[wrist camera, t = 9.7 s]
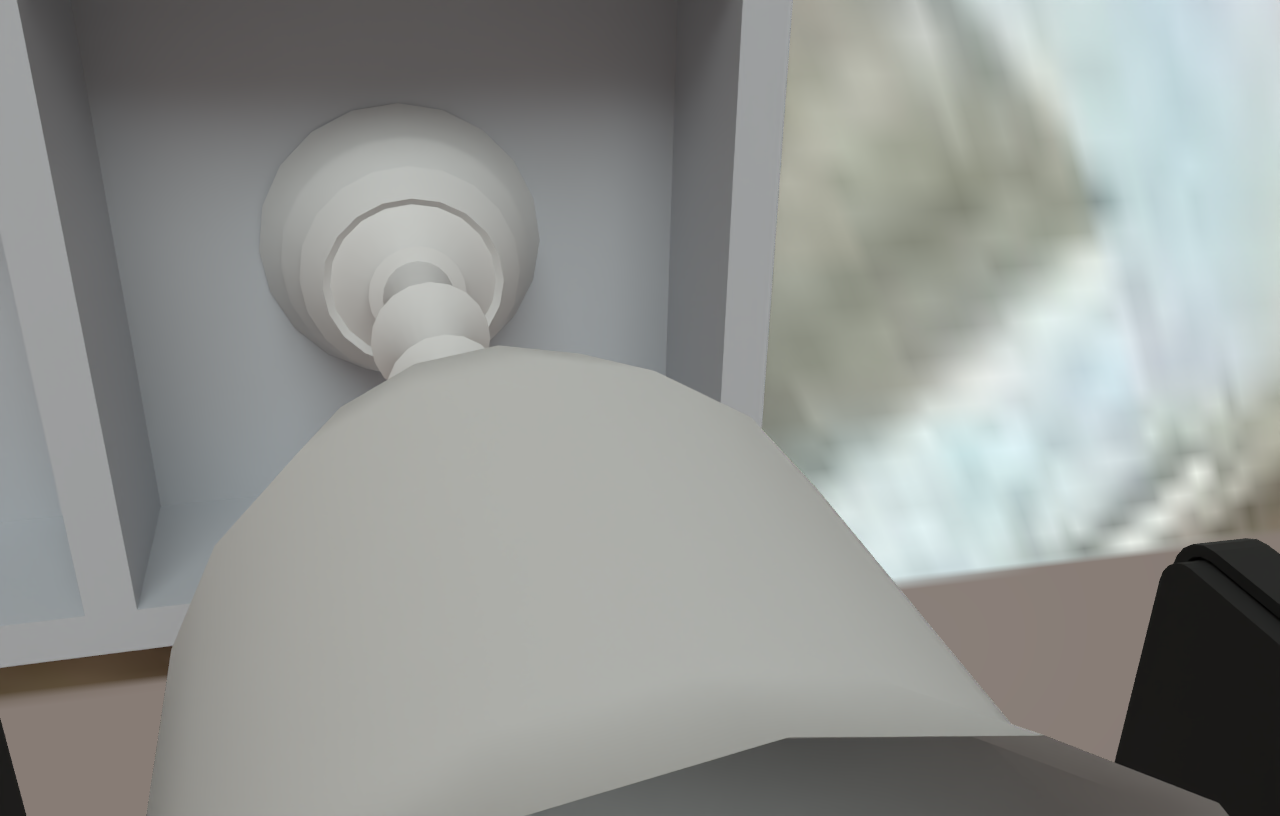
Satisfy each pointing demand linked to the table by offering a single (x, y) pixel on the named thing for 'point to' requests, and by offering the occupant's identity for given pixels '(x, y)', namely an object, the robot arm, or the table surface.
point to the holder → (234, 273)
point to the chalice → (550, 566)
